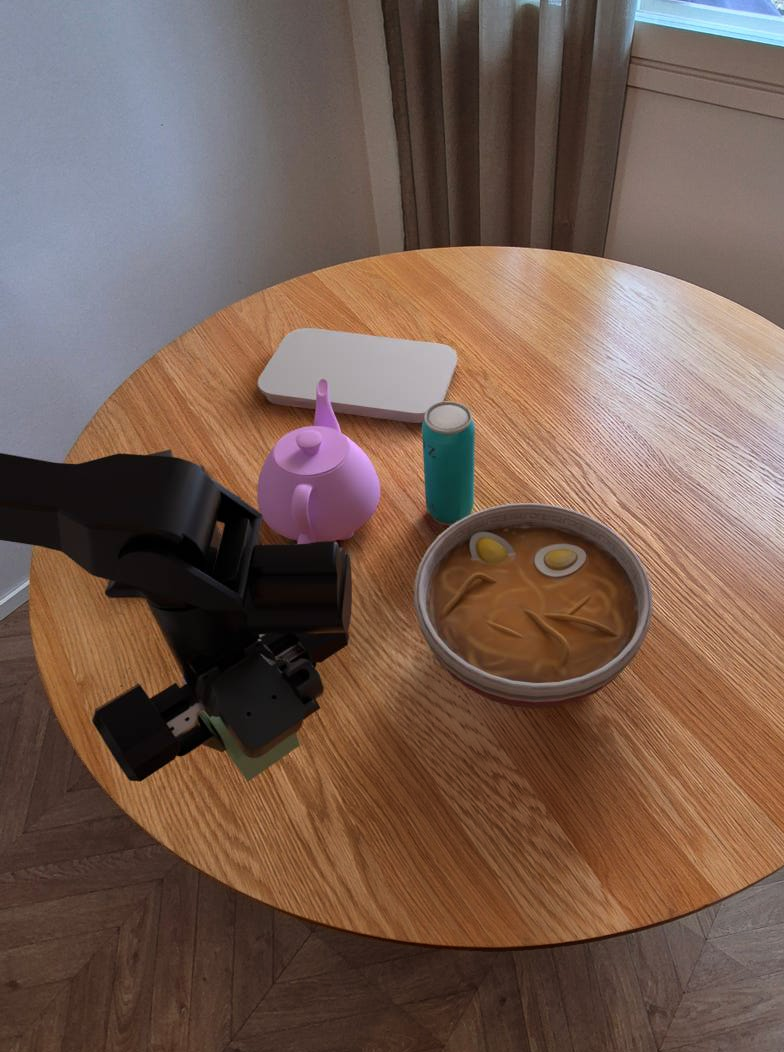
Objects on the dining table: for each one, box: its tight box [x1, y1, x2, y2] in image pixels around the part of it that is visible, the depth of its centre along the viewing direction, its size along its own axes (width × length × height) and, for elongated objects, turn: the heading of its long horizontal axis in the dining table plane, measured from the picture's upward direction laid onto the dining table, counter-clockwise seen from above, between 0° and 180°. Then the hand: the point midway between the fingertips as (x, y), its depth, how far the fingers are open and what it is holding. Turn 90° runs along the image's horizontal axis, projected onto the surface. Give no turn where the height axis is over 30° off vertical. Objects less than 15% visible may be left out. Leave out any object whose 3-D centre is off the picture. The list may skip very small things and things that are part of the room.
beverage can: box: [421, 400, 476, 527], centre depth 90 cm, size 6×6×15 cm
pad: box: [201, 711, 301, 782], centre depth 65 cm, size 5×7×4 cm
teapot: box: [256, 379, 381, 544], centre depth 91 cm, size 20×14×12 cm
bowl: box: [413, 502, 654, 710], centre depth 79 cm, size 23×23×10 cm
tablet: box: [257, 327, 459, 424], centre depth 112 cm, size 16×26×2 cm, turn 79°
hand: (249, 728), depth 66 cm, fingers closed on pad, 5 cm apart
